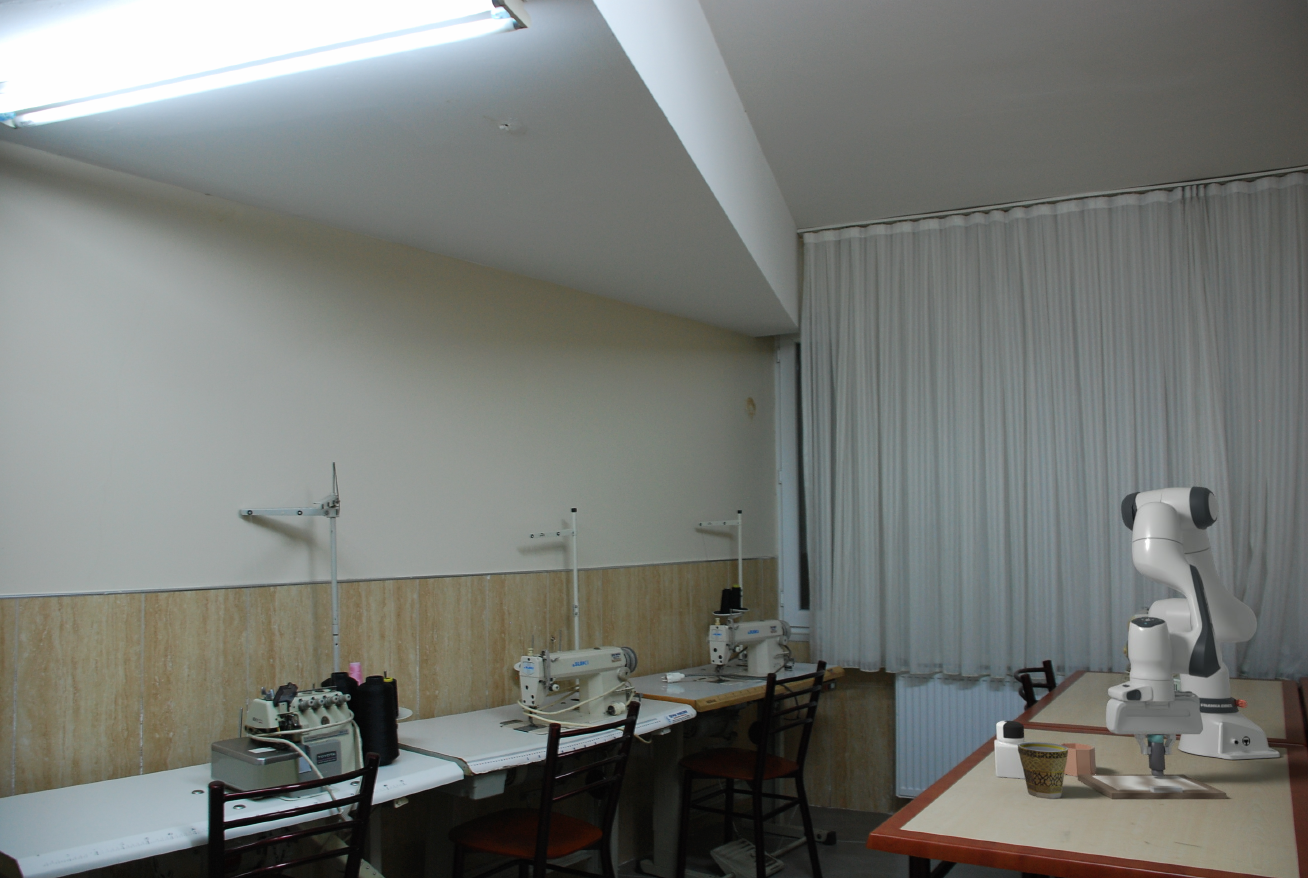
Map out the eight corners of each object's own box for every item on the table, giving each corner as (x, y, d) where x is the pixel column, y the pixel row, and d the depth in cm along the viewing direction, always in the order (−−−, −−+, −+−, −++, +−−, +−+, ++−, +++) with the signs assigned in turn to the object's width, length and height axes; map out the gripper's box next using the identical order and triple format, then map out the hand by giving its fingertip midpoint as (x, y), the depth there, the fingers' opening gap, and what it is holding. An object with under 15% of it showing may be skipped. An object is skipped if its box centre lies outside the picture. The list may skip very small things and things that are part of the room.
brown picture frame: (1183, 779, 210) (1183, 769, 210) (1226, 798, 194) (1225, 787, 195) (1077, 779, 210) (1077, 769, 211) (1111, 798, 194) (1111, 788, 195)
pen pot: (1085, 768, 221) (1084, 742, 222) (1100, 776, 214) (1099, 749, 214) (1054, 768, 221) (1053, 742, 222) (1068, 776, 214) (1066, 749, 214)
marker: (1161, 773, 208) (1158, 732, 209) (1169, 777, 205) (1166, 735, 206) (1146, 773, 208) (1143, 732, 209) (1154, 777, 205) (1151, 735, 206)
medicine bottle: (1027, 772, 218) (1025, 720, 219) (1029, 779, 211) (1026, 725, 212) (995, 770, 220) (993, 718, 221) (996, 777, 213) (993, 723, 215)
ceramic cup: (1081, 798, 195) (1078, 749, 196) (1041, 802, 192) (1038, 752, 193) (1039, 783, 207) (1037, 737, 208) (1001, 787, 204) (999, 740, 205)
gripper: (1190, 688, 212) (1194, 751, 210) (1100, 688, 212) (1104, 751, 210) (1206, 693, 205) (1211, 757, 204) (1114, 693, 206) (1118, 757, 204)
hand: (1156, 754), depth 207 cm, fingers closed on marker, 3 cm apart
